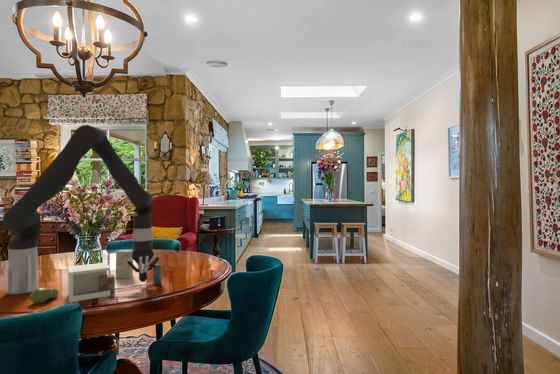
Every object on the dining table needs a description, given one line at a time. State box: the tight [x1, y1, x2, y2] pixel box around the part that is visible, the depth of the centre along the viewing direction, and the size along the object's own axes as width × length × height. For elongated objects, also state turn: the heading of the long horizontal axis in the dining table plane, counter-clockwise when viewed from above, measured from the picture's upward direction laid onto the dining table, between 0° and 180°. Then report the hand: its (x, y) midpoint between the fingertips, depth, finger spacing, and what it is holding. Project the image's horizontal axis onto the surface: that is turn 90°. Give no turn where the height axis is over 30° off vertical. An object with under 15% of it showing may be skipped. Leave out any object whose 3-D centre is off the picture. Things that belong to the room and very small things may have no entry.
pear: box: [29, 287, 60, 305], centre depth 124 cm, size 6×5×10 cm
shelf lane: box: [67, 261, 111, 303], centre depth 130 cm, size 13×11×11 cm
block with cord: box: [98, 263, 162, 294], centre depth 138 cm, size 23×5×8 cm, turn 123°
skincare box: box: [115, 249, 134, 279], centre depth 156 cm, size 6×4×12 cm
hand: (143, 281), depth 140 cm, fingers closed
